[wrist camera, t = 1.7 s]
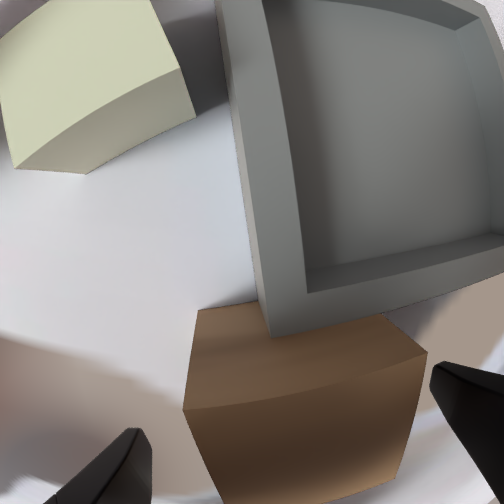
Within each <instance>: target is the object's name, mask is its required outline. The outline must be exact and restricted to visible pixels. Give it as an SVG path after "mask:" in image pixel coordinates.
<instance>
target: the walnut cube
mask: <svg viewBox="0 0 504 504" xmlns="http://www.w3.org/2000/svg"><path fill="white" fill-rule="evenodd" d="M427 354H428V352H427V351H426V350H424V349H423V348H422V347H421V346H420V345H418V344H417V343H416V342H415V341H413V340H412V339H411V338H410V337H409V336H407V335H406V334H405V333H404V332H403V331H401V330H400V329H399V328H398V327H396V326H395V325H394V324H393V323H392V322H390V321H389V320H388V319H387V318H385V317H384V316H383V315H382V314H376V315H373V316H369V317H365V318H361V319H357V320H353V321H349V322H345V323H341V324H337V325H332V326H328V327H324V328H319V329H315V330H310V331H305V332H301V333H296V334H291V335H286V336H281V337H275V338H271V337H270V334H269V331H268V328H267V325H266V322H265V319H264V316H263V313H262V311H261V308H260V305H259V302H258V301H254V302H249V303H243V304H236V305H230V306H224V307H217V308H211V309H204V310H198V313H197V319H196V325H195V331H194V337H193V343H192V350H191V356H190V362H189V369H188V375H187V382H186V389H185V396H184V403H183V412H184V415H185V418H186V420H187V423H188V425H189V428H190V430H191V432H192V435H193V438H194V440H195V442H196V445H197V447H198V449H199V451H200V454H201V456H202V458H203V461H204V463H205V465H206V467H207V470H208V472H209V474H210V476H211V478H212V480H213V482H214V484H215V486H216V488H217V490H218V493H219V495H220V496H221V498H222V500H223V502H224V504H323V503H326V502H330V501H333V500H337V499H340V498H343V497H347V496H350V495H353V494H356V493H359V492H361V491H364V490H367V489H370V488H372V487H375V486H378V485H380V484H383V483H385V482H388V481H390V480H392V479H395V476H396V474H397V471H398V468H399V465H400V463H401V460H402V457H403V454H404V451H405V448H406V444H407V441H408V438H409V435H410V431H411V428H412V424H413V420H414V417H415V413H416V409H417V405H418V400H419V396H420V391H421V387H422V382H423V377H424V372H425V365H426V360H427Z"/></svg>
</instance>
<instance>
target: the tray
mask: <svg viewBox="0 0 504 504" xmlns="http://www.w3.org/2000/svg"><path fill="white" fill-rule="evenodd" d="M214 1H215V8H216V15H217V22H218V29H219V36H220V43H221V49H222V56H223V63H224V70H225V77H226V84H227V91H228V98H229V104H230V111H231V118H232V125H233V132H234V139H235V145H236V152H237V159H238V166H239V173H240V180H241V186H242V193H243V200H244V207H245V214H246V221H247V227H248V234H249V241H250V248H251V255H252V261H253V268H254V275H255V282H256V289H257V295H258V302H259V305H260V308H261V311H262V313H263V316H264V319H265V322H266V325H267V328H268V331H269V334H270V337H271V338H275V337H281V336H286V335H291V334H296V333H301V332H305V331H310V330H315V329H319V328H324V327H328V326H332V325H337V324H341V323H345V322H349V321H353V320H357V319H361V318H365V317H369V316H373V315H376V314H380V313H384V312H387V311H391V310H394V309H398V308H401V307H405V306H408V305H411V304H415V303H418V302H421V301H424V300H427V299H431V298H434V297H437V296H440V295H443V294H446V293H449V292H452V291H455V290H458V289H460V288H463V287H466V286H469V285H472V284H474V283H477V282H480V281H482V280H485V279H488V278H490V277H493V276H495V275H498V274H500V273H503V272H504V50H503V47H502V45H501V42H500V40H499V37H498V35H497V32H496V30H495V27H494V25H493V23H492V21H491V18H490V16H489V14H488V12H487V10H486V8H485V6H483V5H481V4H480V3H478V2H476V1H474V0H214Z"/></svg>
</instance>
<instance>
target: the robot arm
mask: <svg viewBox="0 0 504 504" xmlns="http://www.w3.org/2000/svg"><path fill="white" fill-rule="evenodd" d="M429 387H430V391H431V393H432V395H433V397H434V398H435V400H436V402H437V404H438V406H439V407H440V409H441V411H442V413H443V415H444V417H445V419H446V420H447V422H448V424H449V425H450V427H451V428H452V430H453V431H454V433H455V434H456V436H457V437H458V439H459V440H460V441H461V443H462V444H463V446H464V447H465V449H466V450H467V452H468V453H469V455H470V456H471V458H472V459H473V461H474V462H475V464H476V465H477V467H478V469H479V470H480V472H481V473H482V475H483V476H484V478H485V480H486V481H487V483H488V484H489V486H490V488H491V489H492V491H493V492H494V494H495V496H496V497H497V499H498V500H499V502H500V504H504V375H501V374H496V373H492V372H488V371H483V370H479V369H475V368H471V367H467V366H463V365H459V364H455V363H451V362H447V361H443V362H440V363H438V364H436V365H434V367H433V370H432V375H431V380H430V384H429ZM151 498H152V448H151V445H150V443H149V441H148V439H147V437H146V436H145V434H144V432H143V430H142V429H141V428H127V429H126V430H125V431H124V432H122V433H121V434H120V435H119V436H118V437H117V438H116V439H115V440H114V441H113V442H112V443H111V444H110V445H109V446H108V447H106V448H105V449H104V450H103V451H102V452H101V453H100V454H99V455H98V456H97V457H96V458H95V459H94V460H92V461H91V462H90V463H89V464H88V465H87V466H86V467H85V468H84V469H83V470H81V471H80V472H79V473H78V474H77V475H76V476H75V477H74V478H72V479H71V480H70V481H69V482H68V483H67V484H66V485H64V486H63V487H62V488H61V489H60V490H59V491H58V492H56V494H54V495H53V496H52V497H51V498H49V499H48V500H47V501H46V502H45V503H43V504H151Z"/></svg>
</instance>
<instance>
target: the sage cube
mask: <svg viewBox="0 0 504 504" xmlns="http://www.w3.org/2000/svg"><path fill="white" fill-rule="evenodd" d="M0 104H1V110H2V116H3V122H4V127H5V132H6V137H7V141H8V146H9V150H10V154H11V158H12V162H13V166H14V169H27V170H42V171H55V172H67V173H78V174H88V173H89V172H91V171H93V170H94V169H96V168H98V167H99V166H101V165H103V164H104V163H106V162H108V161H110V160H111V159H113V158H115V157H117V156H118V155H120V154H122V153H124V152H126V151H128V150H129V149H131V148H133V147H135V146H137V145H139V144H141V143H143V142H145V141H147V140H149V139H151V138H153V137H155V136H157V135H159V134H161V133H163V132H165V131H167V130H169V129H171V128H173V127H175V126H178V125H180V124H182V123H184V122H186V121H189V120H191V119H193V118H195V117H196V114H195V111H194V108H193V105H192V102H191V99H190V96H189V93H188V90H187V87H186V84H185V81H184V78H183V75H182V72H181V69H180V66H179V64H178V62H177V59H176V57H175V55H174V53H173V51H172V48H171V46H170V44H169V42H168V40H167V37H166V35H165V33H164V31H163V29H162V26H161V24H160V22H159V20H158V18H157V15H156V13H155V11H154V9H153V7H152V4H151V2H150V0H50V1H48V2H47V3H45V4H44V5H43V6H41V7H40V8H38V9H37V10H35V11H34V12H33V13H31V14H30V15H29V16H27V17H26V18H25V19H23V20H22V21H21V22H20V23H18V24H17V25H16V26H15V27H13V28H12V29H11V30H10V31H9V32H8V33H6V34H5V35H4V36H3V37H2V38H1V39H0Z"/></svg>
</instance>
